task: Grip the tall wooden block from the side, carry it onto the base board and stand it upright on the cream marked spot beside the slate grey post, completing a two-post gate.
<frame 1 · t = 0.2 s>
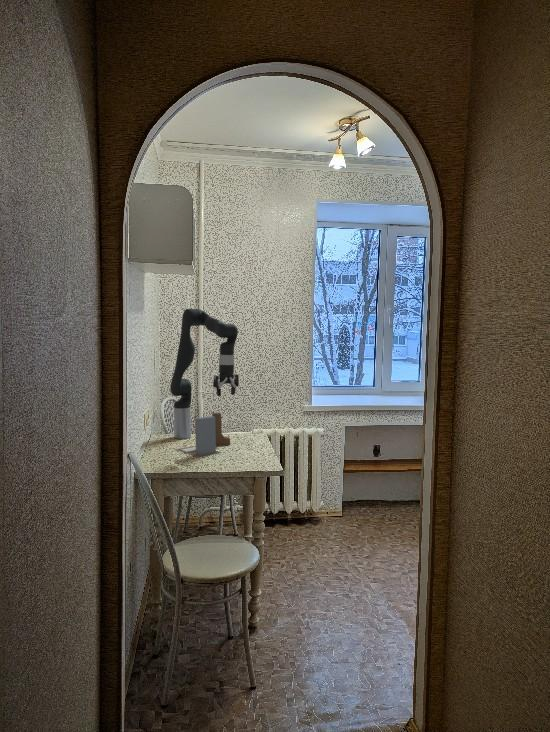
hand: (225, 395, 292), 29 cm above the table, tool pointing down, fingers open, 8 cm apart
base board: (198, 453, 290), on the table
wooden block: (221, 447, 305), on the table
slate post: (205, 453, 285), resting on base board
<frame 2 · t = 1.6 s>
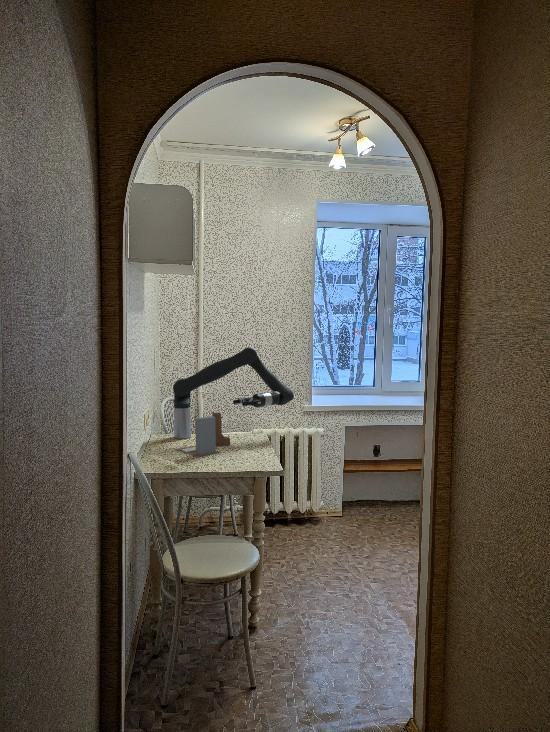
hand: (238, 403, 309), 22 cm above the table, tool horizontal, fingers open, 8 cm apart
nothing on the table moved.
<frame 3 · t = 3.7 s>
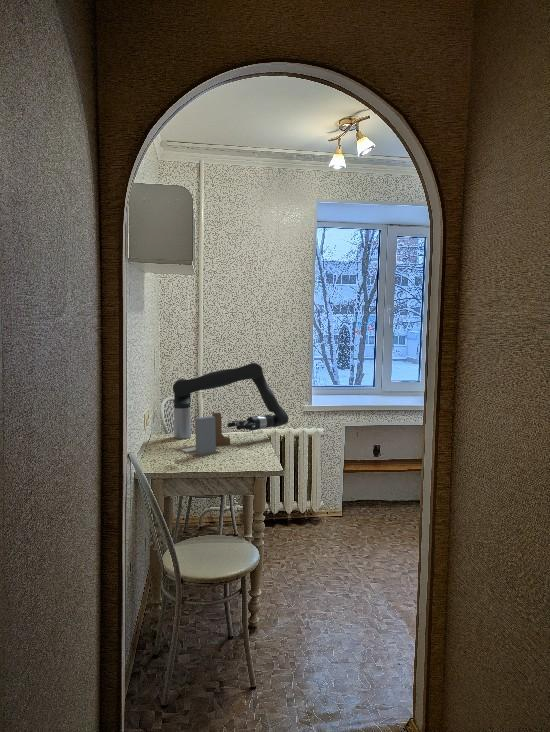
hand: (232, 426, 308), 10 cm above the table, tool horizontal, fingers open, 8 cm apart
nothing on the table moved.
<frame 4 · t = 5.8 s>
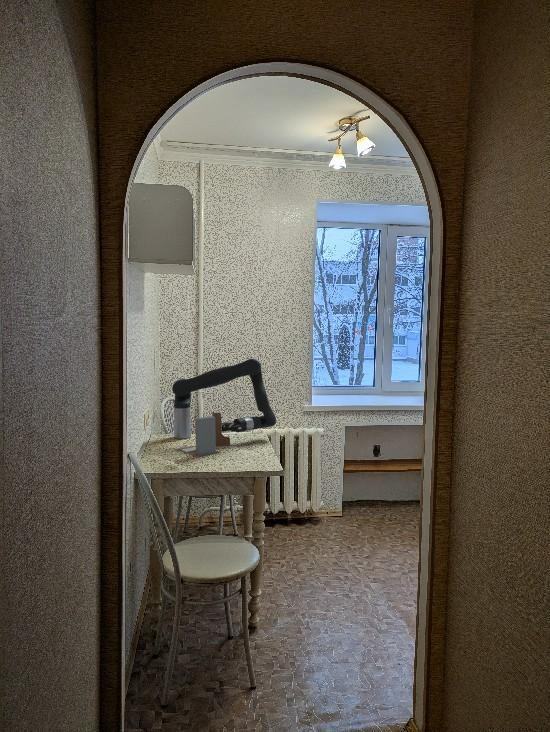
hand: (217, 428, 302), 10 cm above the table, tool horizontal, fingers open, 7 cm apart
wooden block: (221, 447, 305), on the table, touching gripper
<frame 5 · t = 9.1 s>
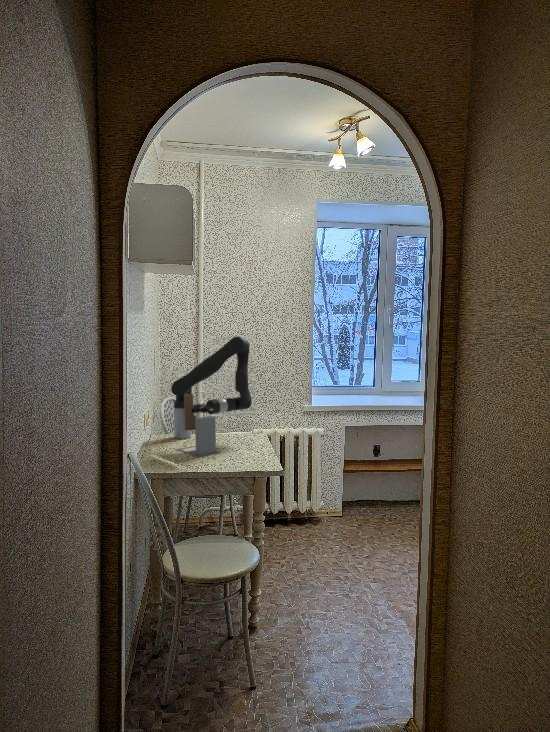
hand: (188, 410, 291), 22 cm above the table, tool horizontal, fingers closed on wooden block, 5 cm apart
wooden block: (193, 429, 293), point 12 cm above the table, touching gripper
when the fingers open (12 cm above the table, at t = 12.2 s): wooden block drops 1 cm, resting on base board.
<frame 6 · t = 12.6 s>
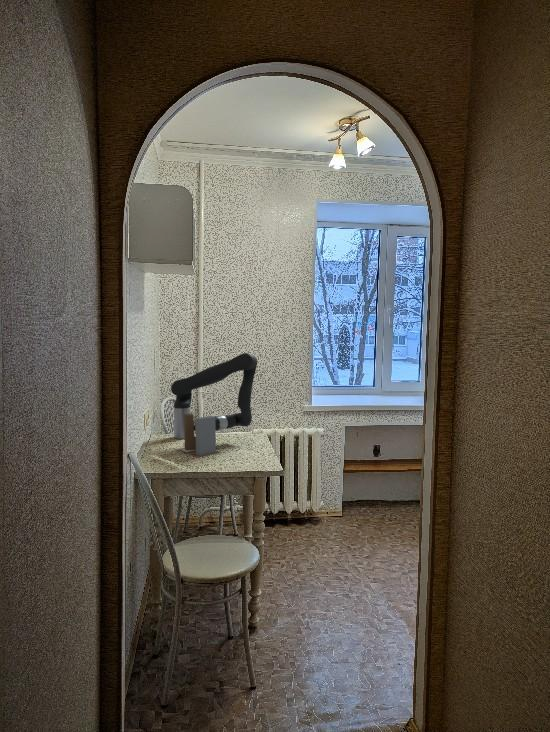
hand: (189, 427, 292), 13 cm above the table, tool horizontal, fingers open, 8 cm apart
wooden block: (194, 449, 294), point 1 cm above the table, touching base board
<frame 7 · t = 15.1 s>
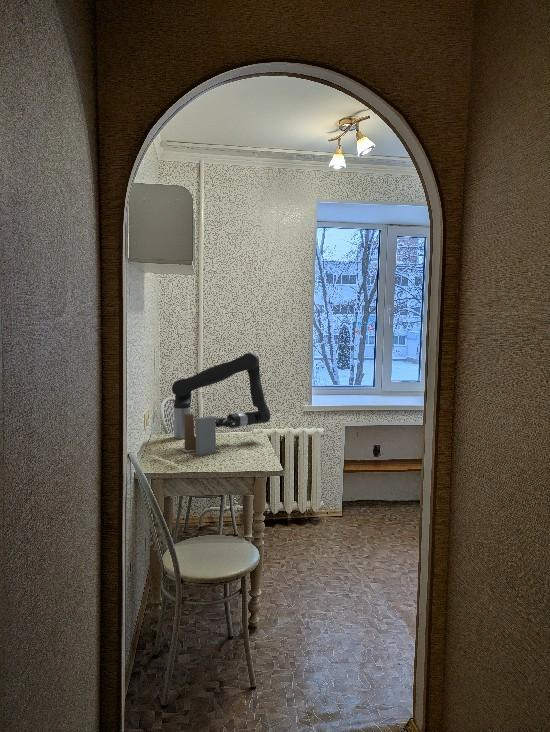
hand: (211, 423, 300), 13 cm above the table, tool horizontal, fingers open, 8 cm apart
nothing on the table moved.
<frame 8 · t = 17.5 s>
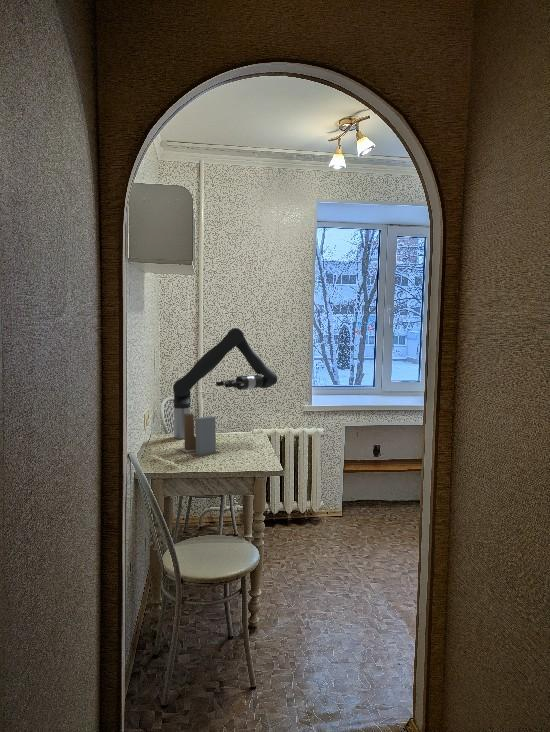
hand: (220, 384, 309), 32 cm above the table, tool horizontal, fingers open, 8 cm apart
nothing on the table moved.
at the end: wooden block 0.4 cm from the target spot, point 1.2 cm above the table; wooden block tilted 0°; the gripper is holding nothing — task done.
